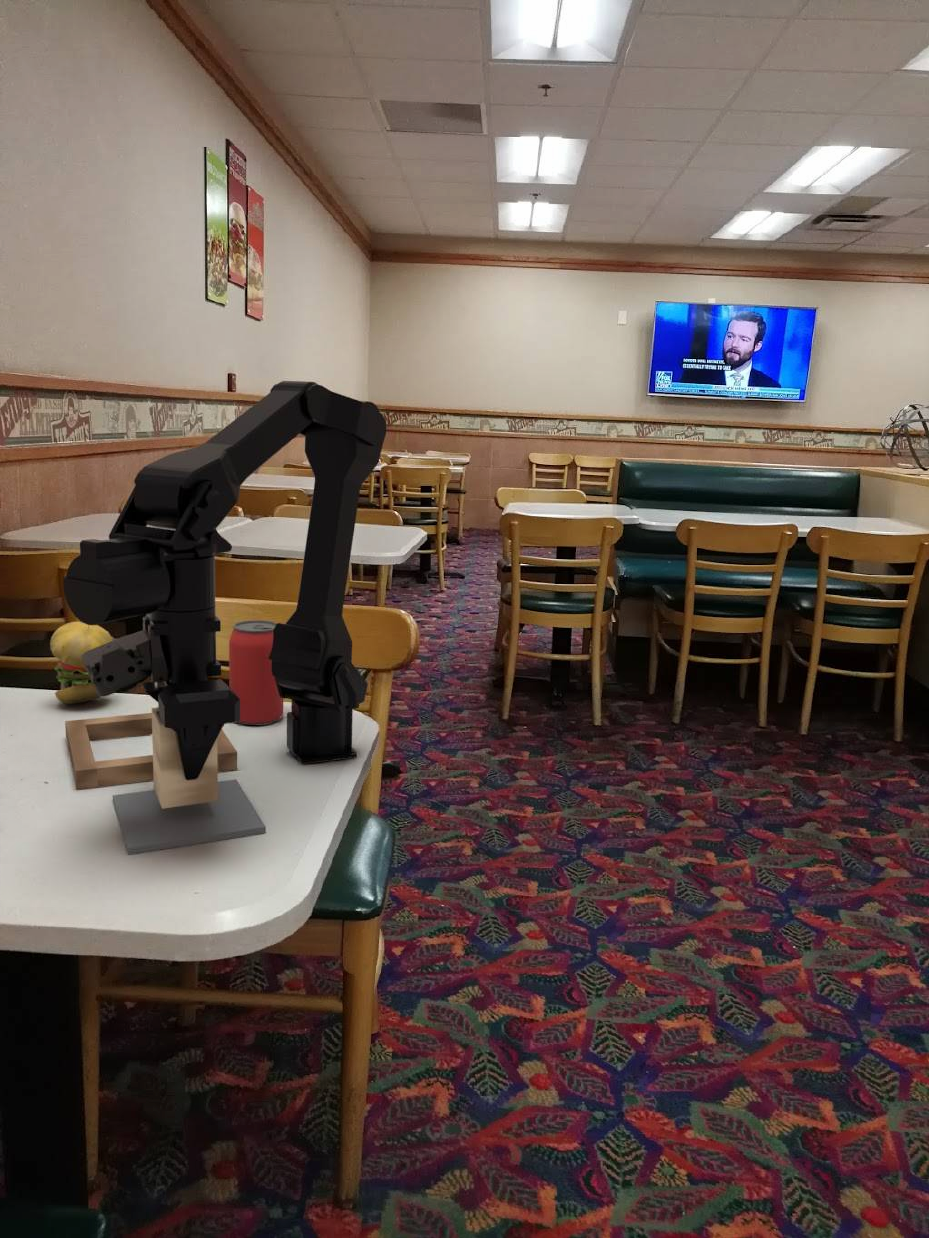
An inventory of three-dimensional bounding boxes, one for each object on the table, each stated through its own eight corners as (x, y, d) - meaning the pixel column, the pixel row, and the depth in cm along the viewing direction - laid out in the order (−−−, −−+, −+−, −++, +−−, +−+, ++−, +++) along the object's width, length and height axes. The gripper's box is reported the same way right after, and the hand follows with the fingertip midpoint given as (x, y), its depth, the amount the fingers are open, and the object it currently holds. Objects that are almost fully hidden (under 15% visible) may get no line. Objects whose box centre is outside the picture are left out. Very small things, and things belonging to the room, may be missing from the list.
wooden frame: (207, 723, 114) (207, 707, 113) (237, 769, 100) (237, 751, 99) (66, 737, 107) (65, 721, 106) (76, 789, 93) (75, 771, 92)
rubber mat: (236, 784, 96) (236, 779, 96) (265, 832, 85) (265, 826, 85) (112, 801, 90) (112, 795, 90) (127, 854, 80) (127, 848, 80)
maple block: (207, 781, 91) (205, 702, 89) (217, 800, 86) (216, 718, 85) (153, 788, 88) (151, 707, 87) (162, 808, 84) (159, 724, 82)
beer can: (270, 729, 112) (270, 633, 110) (220, 723, 114) (219, 628, 111) (291, 713, 119) (291, 621, 116) (243, 707, 120) (242, 617, 117)
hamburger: (98, 692, 124) (95, 604, 121) (128, 704, 119) (125, 613, 116) (41, 704, 118) (36, 611, 115) (71, 717, 113) (66, 622, 111)
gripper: (77, 590, 88) (85, 745, 91) (96, 635, 72) (104, 822, 75) (198, 585, 93) (200, 733, 96) (240, 626, 77) (242, 802, 80)
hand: (186, 768), depth 87 cm, fingers closed on maple block, 5 cm apart
